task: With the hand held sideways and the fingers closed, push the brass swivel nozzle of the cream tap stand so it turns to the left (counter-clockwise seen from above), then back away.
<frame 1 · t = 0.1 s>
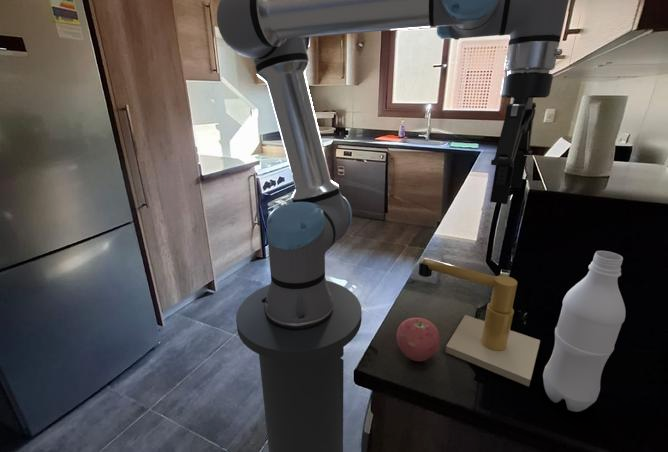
hand: (506, 194, 65), 27 cm above the worktop, tool pointing down, fingers open, 13 cm apart
tap stand: (492, 349, 65), on the worktop
nozzle: (463, 282, 64), point 12 cm above the worktop, hinge at 0.0°
apple: (416, 356, 63), on the worktop
water bottle: (565, 398, 54), on the worktop
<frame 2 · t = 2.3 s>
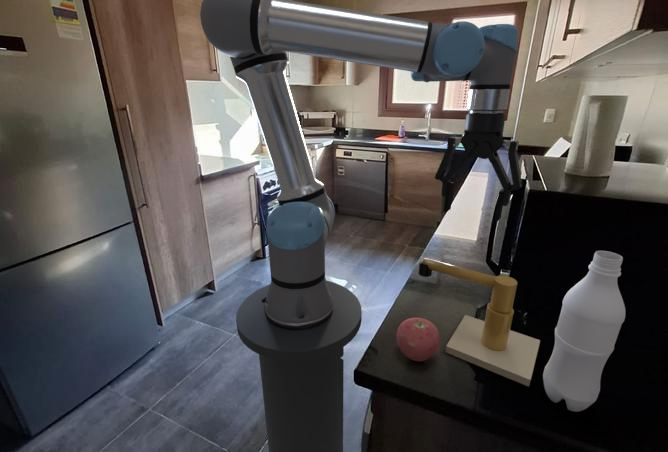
hand: (471, 214, 77), 20 cm above the worktop, tool pointing down, fingers open, 10 cm apart
nothing on the worktop moved.
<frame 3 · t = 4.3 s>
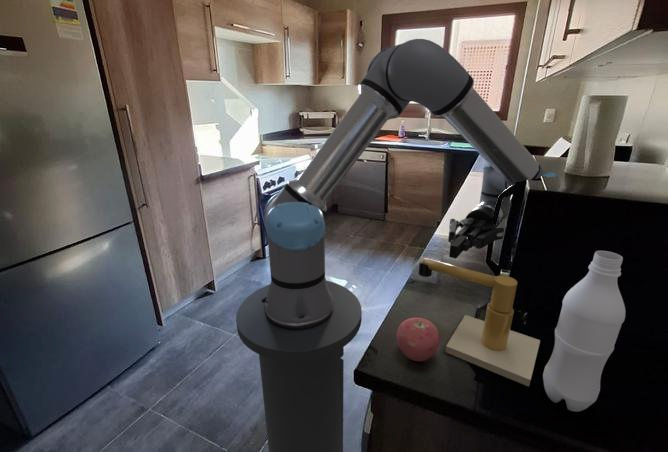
hand: (453, 251, 71), 15 cm above the worktop, tool horizontal, fingers closed
nothing on the worktop moved.
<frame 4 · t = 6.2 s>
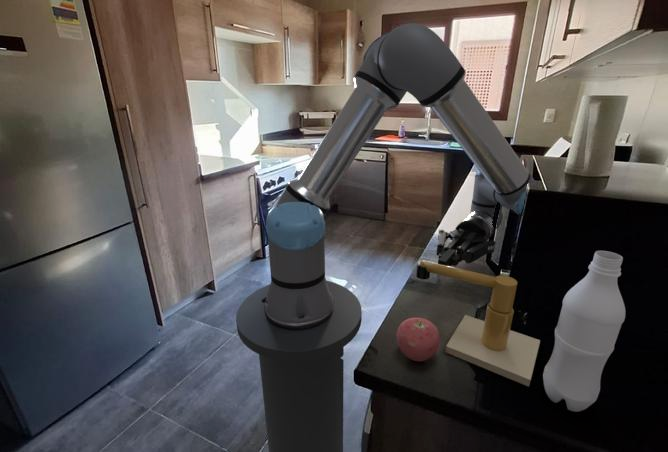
hand: (441, 267, 66), 14 cm above the worktop, tool horizontal, fingers closed
nozzle: (462, 283, 64), point 12 cm above the worktop, hinge at 5.0°, touching gripper
everything else where it was.
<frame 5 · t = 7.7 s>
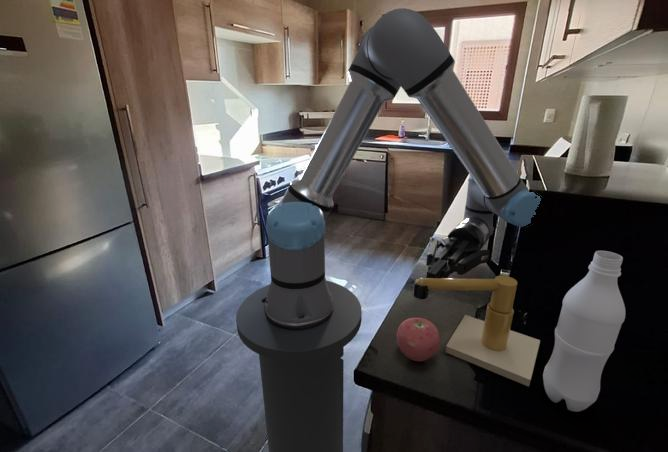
hand: (430, 279, 62), 14 cm above the worktop, tool horizontal, fingers closed
nozzle: (463, 293, 60), point 12 cm above the worktop, hinge at 34.1°, touching gripper
everything else where it was.
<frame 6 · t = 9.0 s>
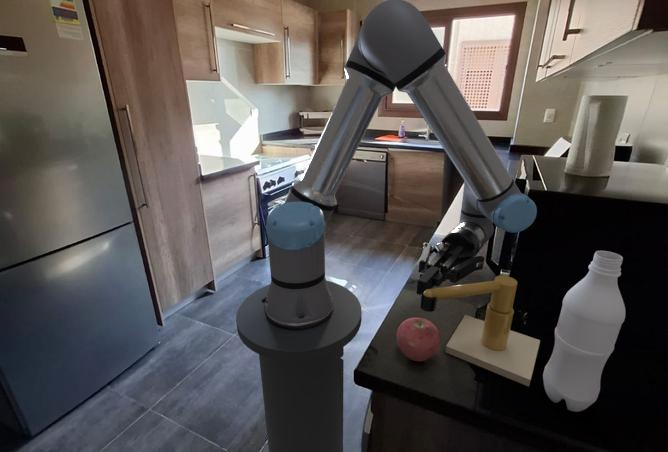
hand: (421, 288, 59), 14 cm above the worktop, tool horizontal, fingers closed
nozzle: (468, 298, 59), point 12 cm above the worktop, hinge at 48.9°
everything else where it was.
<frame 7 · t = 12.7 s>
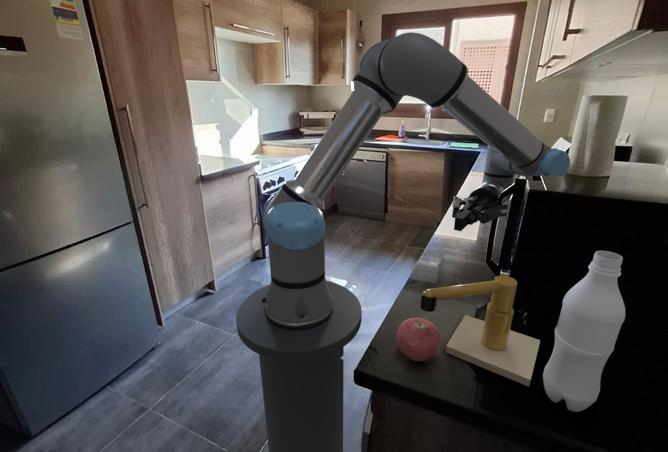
hand: (458, 224, 70), 20 cm above the worktop, tool horizontal, fingers closed
nothing on the worktop moved.
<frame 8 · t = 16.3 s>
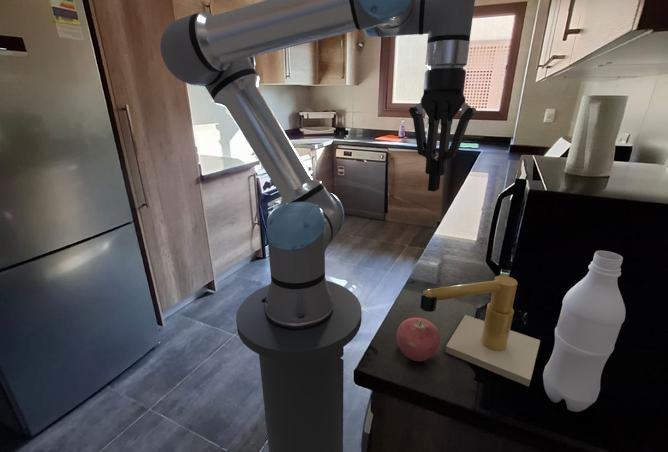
hand: (433, 189, 73), 26 cm above the worktop, tool pointing down, fingers closed
nothing on the worktop moved.
at the end: nozzle at +49° (first picture: +0°) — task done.
